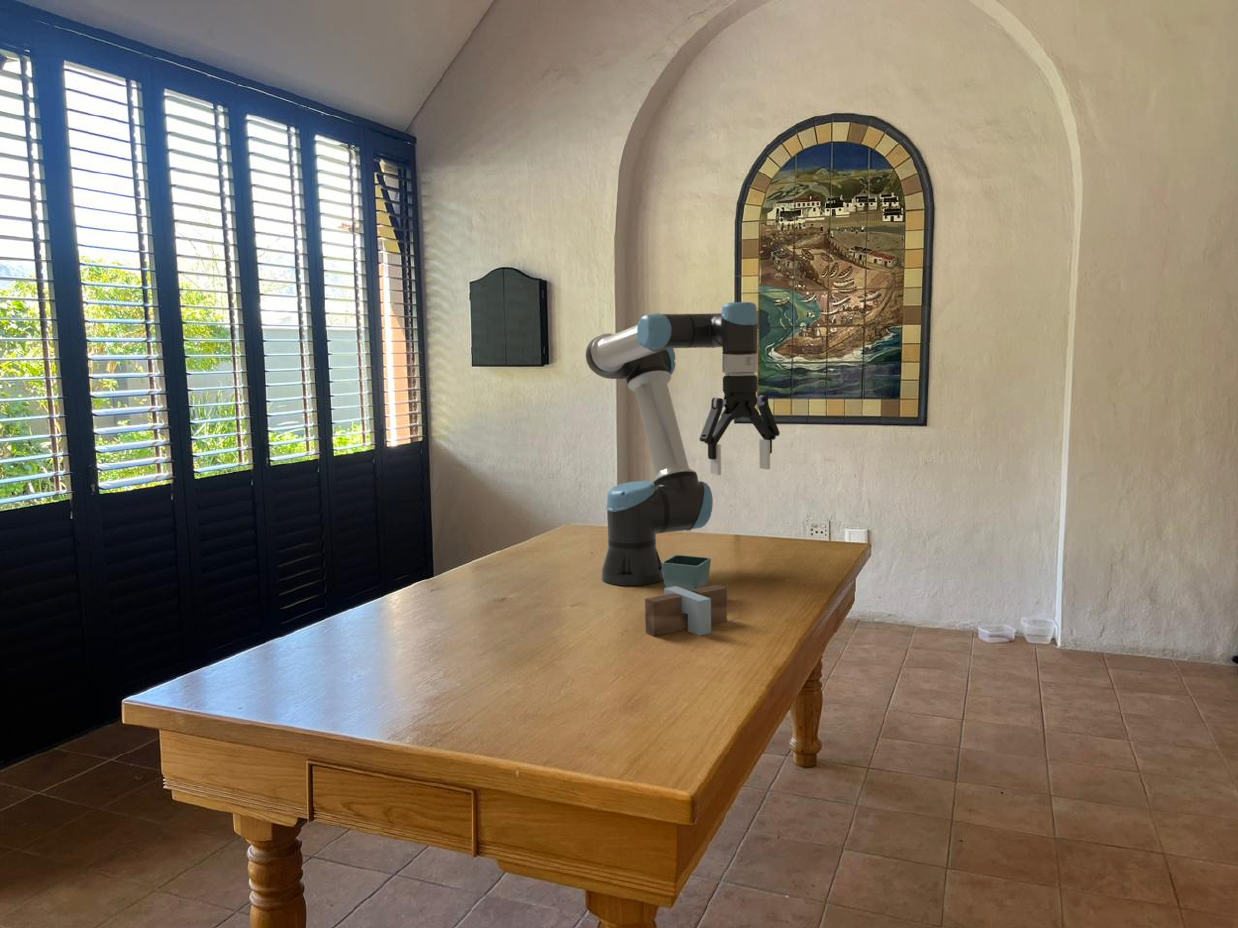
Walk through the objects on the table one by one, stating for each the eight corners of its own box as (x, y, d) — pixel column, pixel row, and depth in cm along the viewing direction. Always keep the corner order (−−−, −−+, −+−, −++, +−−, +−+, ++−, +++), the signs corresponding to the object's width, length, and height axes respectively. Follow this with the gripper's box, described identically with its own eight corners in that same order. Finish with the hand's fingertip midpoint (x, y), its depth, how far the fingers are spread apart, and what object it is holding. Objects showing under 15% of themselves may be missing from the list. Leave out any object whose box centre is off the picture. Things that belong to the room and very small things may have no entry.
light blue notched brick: (664, 621, 194) (664, 588, 193) (676, 618, 196) (676, 586, 195) (698, 635, 184) (698, 601, 183) (711, 633, 185) (710, 598, 185)
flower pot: (712, 595, 213) (711, 557, 212) (698, 606, 205) (698, 565, 204) (675, 592, 216) (675, 554, 215) (661, 602, 209) (660, 562, 207)
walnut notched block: (645, 632, 187) (644, 598, 186) (718, 617, 196) (717, 584, 195) (653, 636, 184) (653, 601, 183) (726, 620, 193) (726, 587, 192)
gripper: (703, 377, 194) (704, 478, 197) (795, 372, 207) (795, 468, 209) (682, 376, 200) (684, 474, 203) (773, 372, 213) (773, 464, 216)
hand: (740, 471), depth 206 cm, fingers open, 13 cm apart
